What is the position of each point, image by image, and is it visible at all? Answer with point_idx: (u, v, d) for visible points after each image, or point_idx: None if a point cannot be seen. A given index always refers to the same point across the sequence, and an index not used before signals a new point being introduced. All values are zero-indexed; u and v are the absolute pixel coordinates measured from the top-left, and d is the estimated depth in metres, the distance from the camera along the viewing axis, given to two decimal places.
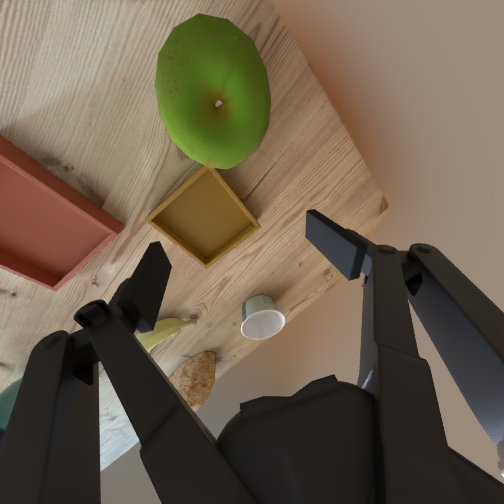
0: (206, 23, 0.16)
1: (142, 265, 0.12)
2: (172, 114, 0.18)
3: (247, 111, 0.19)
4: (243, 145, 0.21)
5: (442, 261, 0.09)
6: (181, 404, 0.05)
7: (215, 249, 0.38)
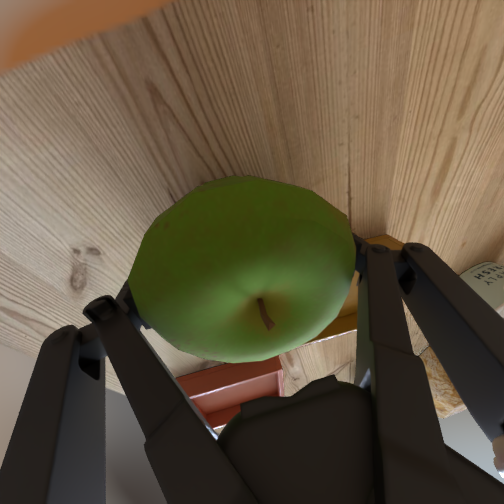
0: (145, 285, 0.07)
1: None
2: (239, 360, 0.11)
3: (307, 272, 0.08)
4: (342, 290, 0.10)
5: (434, 260, 0.09)
6: (185, 400, 0.05)
7: None
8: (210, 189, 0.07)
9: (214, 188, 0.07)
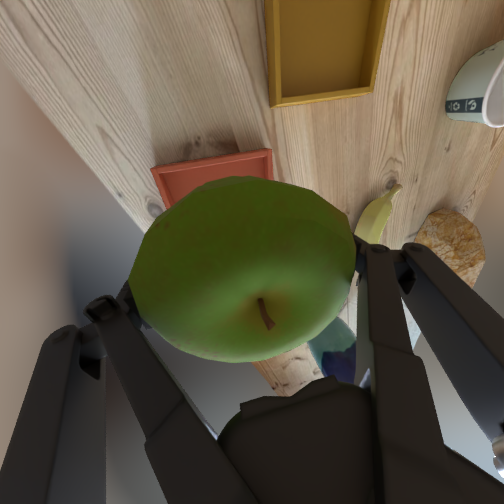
0: (145, 285, 0.07)
1: None
2: (239, 360, 0.11)
3: (307, 272, 0.08)
4: (342, 290, 0.10)
5: (433, 260, 0.09)
6: (185, 400, 0.05)
7: (360, 63, 0.25)
8: (210, 189, 0.07)
9: (214, 188, 0.07)
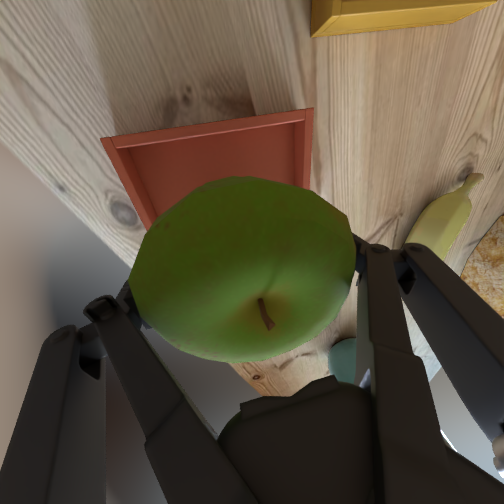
0: (145, 286, 0.07)
1: None
2: (239, 360, 0.11)
3: (307, 272, 0.08)
4: (342, 290, 0.10)
5: (434, 260, 0.09)
6: (185, 400, 0.05)
7: None
8: (210, 189, 0.07)
9: (214, 188, 0.07)
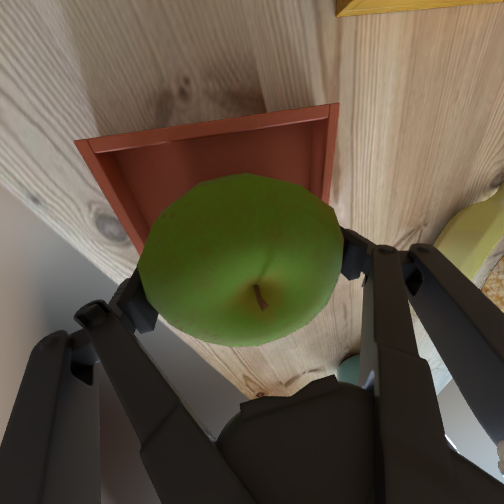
0: (153, 269, 0.08)
1: None
2: (237, 344, 0.12)
3: (297, 258, 0.09)
4: (331, 277, 0.11)
5: (442, 261, 0.09)
6: (181, 404, 0.05)
7: None
8: (211, 183, 0.08)
9: (214, 182, 0.08)
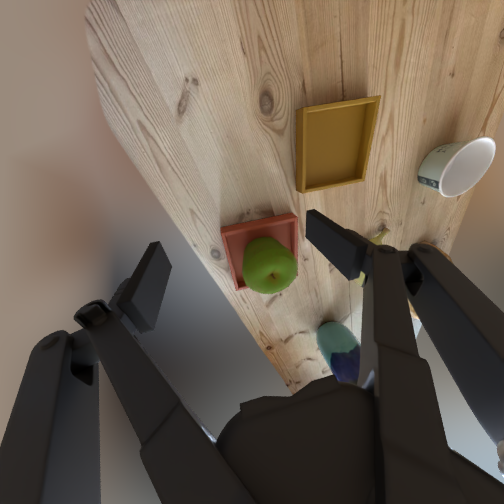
0: (249, 269, 0.36)
1: (142, 265, 0.12)
2: (265, 292, 0.40)
3: (283, 266, 0.36)
4: (293, 271, 0.38)
5: (442, 261, 0.09)
6: (181, 404, 0.05)
7: (355, 162, 0.39)
8: (263, 250, 0.35)
9: (264, 250, 0.35)
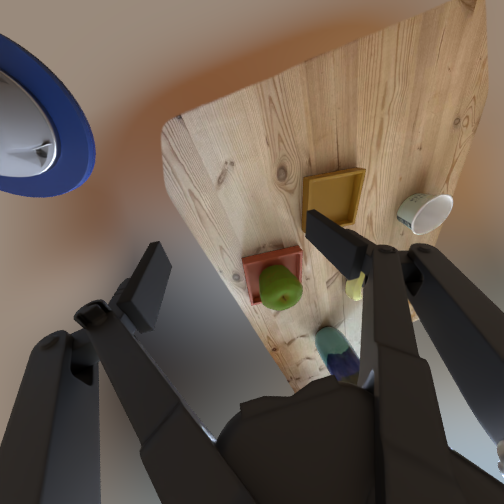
0: (266, 293, 0.47)
1: (142, 265, 0.12)
2: (277, 309, 0.51)
3: (292, 291, 0.48)
4: (299, 294, 0.49)
5: (442, 261, 0.09)
6: (181, 404, 0.05)
7: (347, 209, 0.50)
8: (277, 279, 0.46)
9: (278, 279, 0.46)
